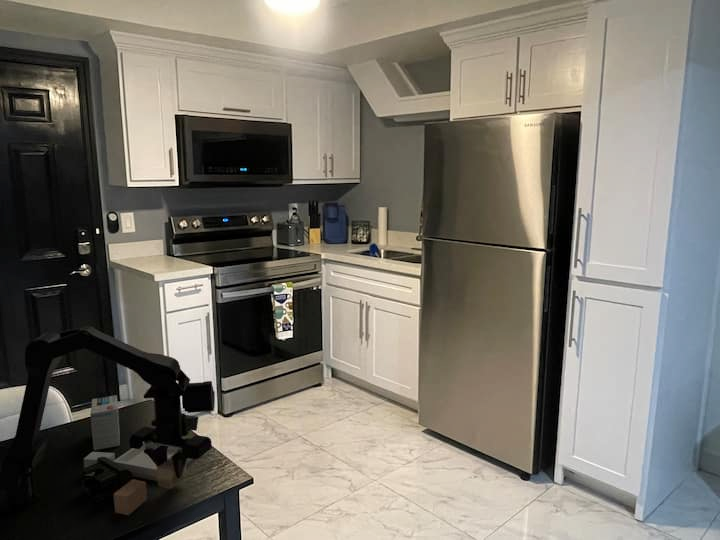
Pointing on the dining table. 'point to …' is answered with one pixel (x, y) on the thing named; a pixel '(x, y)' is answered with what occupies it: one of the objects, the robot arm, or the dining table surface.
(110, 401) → the light bulb box
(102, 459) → the end cap
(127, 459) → the tray
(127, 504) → the terracotta block
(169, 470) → the maple block
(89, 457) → the pale blue block
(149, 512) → the dining table surface
